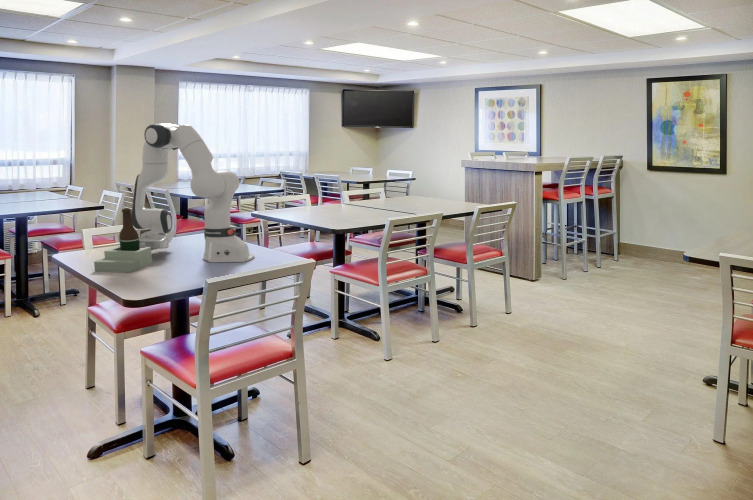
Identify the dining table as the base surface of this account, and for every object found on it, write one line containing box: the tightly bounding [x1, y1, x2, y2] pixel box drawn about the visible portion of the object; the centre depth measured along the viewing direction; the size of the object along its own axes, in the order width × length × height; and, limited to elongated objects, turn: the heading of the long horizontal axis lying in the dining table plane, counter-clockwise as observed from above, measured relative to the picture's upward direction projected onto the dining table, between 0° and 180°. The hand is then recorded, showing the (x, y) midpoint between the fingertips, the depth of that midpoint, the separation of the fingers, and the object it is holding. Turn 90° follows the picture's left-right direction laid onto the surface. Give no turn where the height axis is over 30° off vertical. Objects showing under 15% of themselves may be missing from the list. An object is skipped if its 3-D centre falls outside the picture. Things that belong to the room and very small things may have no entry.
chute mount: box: [93, 245, 153, 273], centre depth 254 cm, size 16×18×7 cm
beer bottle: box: [118, 207, 141, 251], centre depth 257 cm, size 8×8×24 cm
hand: (134, 246), depth 262 cm, fingers closed, pressing on beer bottle
